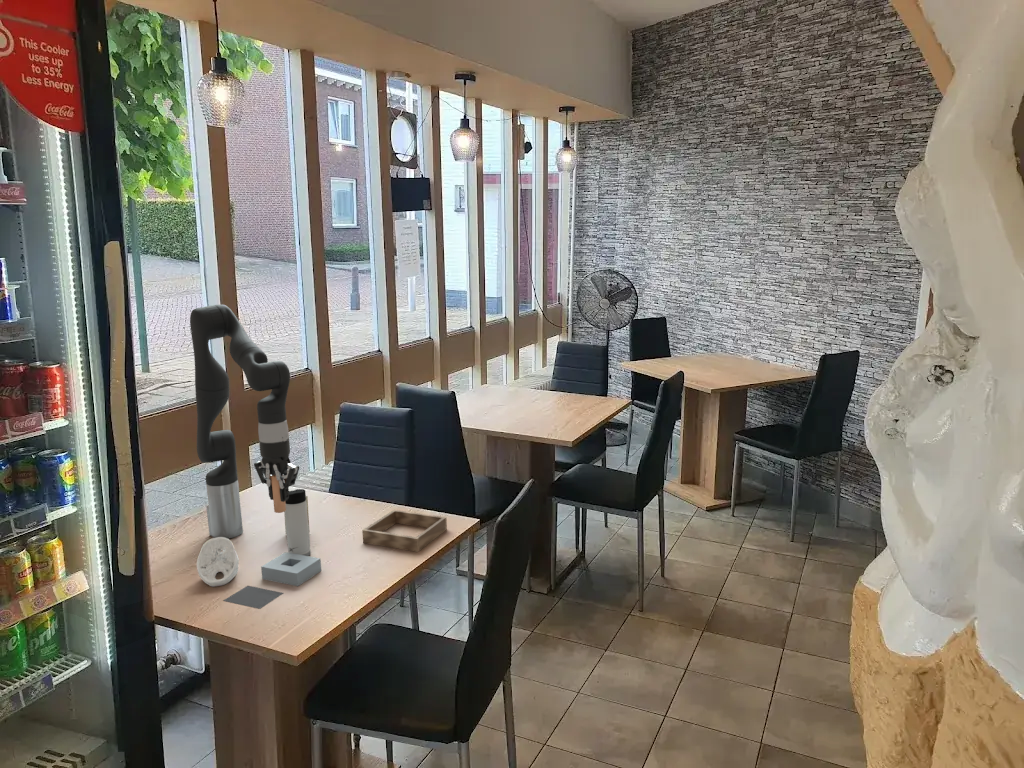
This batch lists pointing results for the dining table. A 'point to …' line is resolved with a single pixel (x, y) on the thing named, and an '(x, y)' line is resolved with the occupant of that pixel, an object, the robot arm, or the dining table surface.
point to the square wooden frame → (378, 537)
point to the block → (291, 569)
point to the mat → (253, 597)
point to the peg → (277, 496)
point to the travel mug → (297, 523)
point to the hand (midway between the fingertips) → (279, 499)
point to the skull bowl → (217, 561)
